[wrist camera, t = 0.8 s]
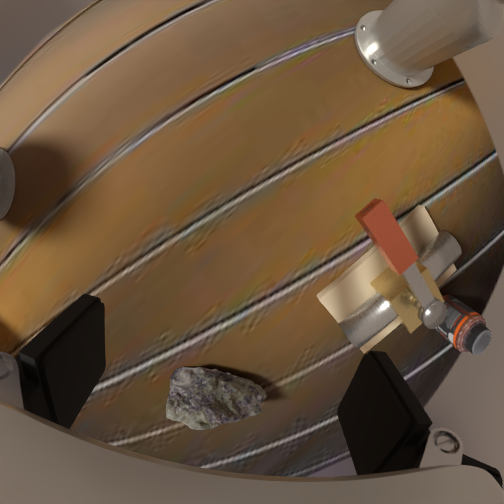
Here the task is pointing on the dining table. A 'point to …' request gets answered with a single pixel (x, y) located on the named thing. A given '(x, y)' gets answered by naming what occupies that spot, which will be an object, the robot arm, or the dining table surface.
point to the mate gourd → (6, 182)
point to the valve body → (400, 293)
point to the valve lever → (401, 258)
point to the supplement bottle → (464, 327)
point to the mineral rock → (211, 398)
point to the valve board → (377, 273)
